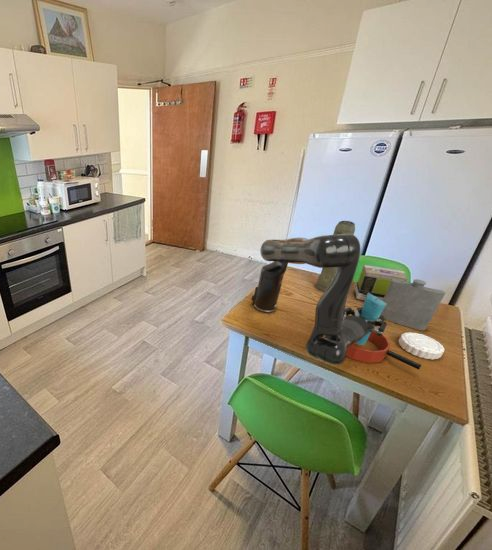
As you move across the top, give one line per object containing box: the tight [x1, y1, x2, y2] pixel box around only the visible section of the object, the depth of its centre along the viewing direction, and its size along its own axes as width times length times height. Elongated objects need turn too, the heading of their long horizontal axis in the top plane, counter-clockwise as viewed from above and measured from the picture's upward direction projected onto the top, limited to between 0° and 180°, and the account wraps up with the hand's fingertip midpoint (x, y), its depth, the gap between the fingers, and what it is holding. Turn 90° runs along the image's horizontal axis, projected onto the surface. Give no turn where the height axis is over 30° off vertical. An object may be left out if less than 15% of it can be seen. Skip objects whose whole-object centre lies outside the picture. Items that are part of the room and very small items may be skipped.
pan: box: [346, 331, 422, 370], centre depth 108 cm, size 26×17×5 cm, turn 34°
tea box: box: [354, 264, 409, 301], centre depth 138 cm, size 15×10×15 cm, turn 59°
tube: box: [355, 293, 386, 346], centre depth 107 cm, size 7×5×19 cm, turn 13°
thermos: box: [315, 220, 356, 293], centre depth 143 cm, size 9×12×35 cm
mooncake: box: [398, 331, 445, 360], centre depth 110 cm, size 12×12×4 cm
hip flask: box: [379, 278, 446, 331], centre depth 120 cm, size 16×4×20 cm, turn 45°
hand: (371, 313), depth 108 cm, fingers closed on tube, 5 cm apart
